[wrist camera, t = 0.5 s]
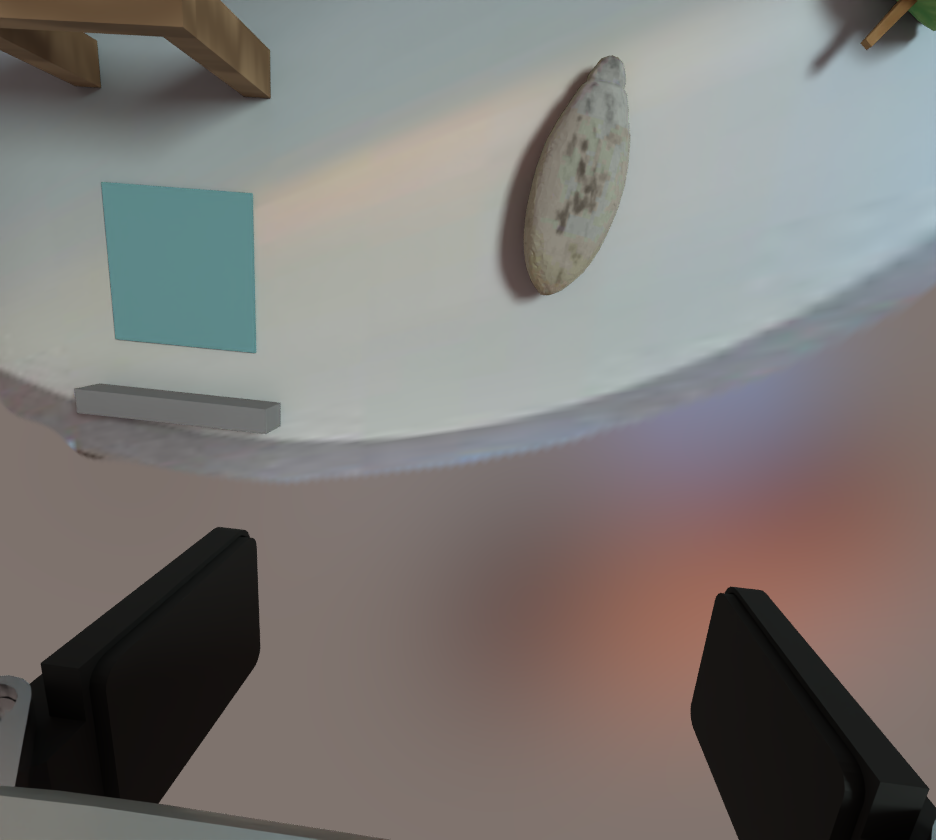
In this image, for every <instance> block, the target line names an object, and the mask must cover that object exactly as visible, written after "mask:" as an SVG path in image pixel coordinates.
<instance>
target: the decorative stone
mask: <svg viewBox="0 0 936 840" xmlns="http://www.w3.org/2000/svg"><path fill="white" fill-rule="evenodd" d="M625 84H626V74H625V68H624V64H623V62H622V61H621V60H620V59H619V58H618V57H615V56H613V55H612V56H607V57H604V58H602V59H601V60H600V61H599V62H598V63H597V65H596V66H595V67H594V68H593V70H592V71H591V72H590V74H589V76H588V77H587V82H586V83H584V84H582V85H581V86H580V88H579V89H578V91H577V92H576V94H575V95H574V97H573V98H572V100H571V101H570V103H569V104H568V106H567V107H566V109H565V110H564V112H563V113H562V114H561V116H560V117H559V119H558V121H557V123H556V124H555V126H554V128H553V130H552V131H551V133H550V135H549V137H548V139H547V141H546V143H545V145H544V148H543V151H542V153H541V156H540V159H539V162H538V164H537V167H536V171H535V175H534V178H533V183H532V186H531V191H530V195H529V199H528V204H527V210H526V216H525V226H524V239H523V240H524V255H525V262H526V267H527V270H528V273H529V276H530V279H531V281H532V283H533V284H534V286H535V288H536V289H537V290H538V292H539V293H540V294H541V295H551V294H554V293H556V292H559V291H561V290H562V289H564V288H565V287H567V286H568V285H569V284H570V283H572V282H573V281H574V280H575V279H576V278H578V277H579V276H580V275H581V274H582V273H583V272H584V271H585V269H586V268H587V267H588V266H589V264H590V263H591V262H592V260H593V259H594V257H595V256H596V254H597V252H598V251H599V249H600V247H601V245H602V243H603V242H604V239H605V237H606V235H607V233H608V231H609V229H610V226H611V224H612V222H613V219H614V217H615V215H616V212H617V210H618V207H619V203H620V200H621V196H622V193H623V190H624V186H625V181H626V175H627V169H628V162H629V148H630V128H629V114H628V111H629V109H628V100H627V94H626V92H625V90H624V88H625Z"/></svg>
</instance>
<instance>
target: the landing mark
mask: <svg viewBox="0 0 936 840" xmlns="http://www.w3.org/2000/svg"><path fill="white" fill-rule="evenodd" d="M101 185H102V196H103V207H104V218H105V229H106V240H107V251H108V262H109V273H110V284H111V295H112V306H113V317H114V327H115V338H116V339H120V340H130V341H140V342H150V343H160V344H171V345H181V346H191V347H201V348H211V349H221V350H231V351H241V352H251V353H256V325H255V279H254V232H253V194H252V193H240V192H227V191H213V190H200V189H187V188H174V187H161V186H147V185H134V184H121V183H108V182H101Z"/></svg>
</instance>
